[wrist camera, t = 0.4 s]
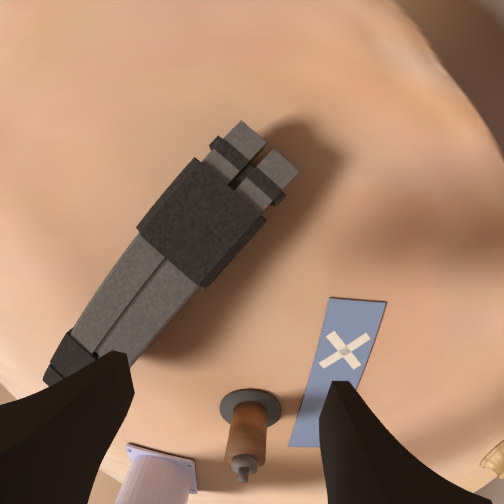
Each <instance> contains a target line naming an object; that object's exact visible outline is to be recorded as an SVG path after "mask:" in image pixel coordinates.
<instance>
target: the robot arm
mask: <svg viewBox="0 0 504 504" xmlns="http://www.w3.org/2000/svg"><path fill="white" fill-rule="evenodd" d="M134 394H135V392H134V388H133V383H132V378H131V373H130V368H129V363H128V357H127V354H126V353H122V352H118V351H114V350H112V351H110V352H108V353H106V354H105V355H103V356H101V357H100V358H98V359H97V360H95V361H93V362H92V363H90V364H88V365H87V366H85V367H84V368H82V369H80V370H79V371H77V372H75V373H74V374H72V375H70V376H69V377H67V378H65V379H63V380H61V381H59V382H57V383H55V384H54V385H52V386H50V387H48V388H46V389H44V390H42V391H39V392H37V393H35V394H32V395H30V396H27V397H25V398H22V399H19V400H16V401H12V402H9V403H6V404H2V405H0V504H87V503H88V500H89V496H90V493H91V490H92V487H93V483H94V481H95V477H96V475H97V472H98V469H99V467H100V464H101V462H102V460H103V458H104V456H105V454H106V452H107V450H108V449H109V447H110V445H111V443H112V441H113V439H114V437H115V436H116V434H117V432H118V430H119V428H120V426H121V425H122V423H123V421H124V419H125V417H126V415H127V413H128V410H129V408H130V405H131V402H132V399H133V397H134ZM319 443H320V449H321V456H322V462H323V468H324V475H325V481H326V488H327V496H328V504H492V502H491V500H489V499H487V498H484V497H481V496H479V495H476V494H474V493H471V492H469V491H467V490H465V489H463V488H461V487H459V486H457V485H455V484H453V483H451V482H450V481H448V480H446V479H445V478H443V477H441V476H440V475H438V474H437V473H435V472H434V471H433V470H431V469H430V468H428V467H427V466H426V465H424V464H423V463H422V462H420V461H419V460H418V459H417V458H416V457H415V456H413V455H412V454H411V453H410V452H409V451H408V450H407V449H405V448H404V447H403V446H402V445H401V444H400V443H399V442H398V441H397V440H396V439H395V437H394V436H393V435H392V434H391V433H390V432H389V431H388V430H387V429H386V428H385V427H384V425H383V424H382V423H381V422H380V420H379V419H378V418H377V417H376V416H375V414H374V413H373V412H372V411H371V409H370V408H369V407H368V406H367V404H366V403H365V402H364V400H363V399H362V398H361V396H360V395H359V394H358V392H357V391H356V390H355V388H354V387H353V386H352V384H351V383H350V382H349V381H332V382H331V385H330V388H329V391H328V394H327V397H326V400H325V402H324V405H323V408H322V411H321V414H320V416H319ZM125 448H126V451H127V453H128V456H129V458H130V461H131V465H130V467H129V470H128V472H127V474H126V477H125V479H124V481H123V484H122V486H121V489H120V491H119V493H118V496H117V498H116V501H115V503H114V504H186V503H187V500H188V496H189V493H192V494H197V482H196V473H195V463H194V461H192V460H190V459H185V458H180V457H176V456H171V455H167V454H163V453H159V452H155V451H152V450H148V449H145V448H141V447H138V446H134V445H131V444H126V445H125Z"/></svg>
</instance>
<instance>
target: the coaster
mask: <svg viewBox="0 0 504 504" xmlns="http://www.w3.org/2000/svg"><path fill="white" fill-rule="evenodd" d="M244 401H253V402H257V403H260V404H262V405H263V406H264V407H265V408H266V409H267V427H269V426H272V425H273V424H275V423H276V422H277V421H278V420H279V418H280V416H281V406H280V403H279V402H278V400H277V399H276V398H275V397H273V396H272V395H270V394H268V393H266V392H263V391H260V390H254V389H242V390H237V391H233V392H231V393H229V394H227V395H226V396H225V397H224V398H223V399H222V401H221V404H220V413H221V415H222V417H223V418H224V419H225V420H226V421H227V422H228V423H230V424H231V419H232V413H233V408H234V407H235V405H237V404H238V403H240V402H244Z"/></svg>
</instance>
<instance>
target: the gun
mask: <svg viewBox="0 0 504 504" xmlns="http://www.w3.org/2000/svg"><path fill="white" fill-rule="evenodd" d="M266 143H267V142H266V141H265V140H264V139H263V138H261V137H260V136H259V135H258V134H257V133H256V132H254V131H253V130H252V129H251V128H250V127H248V126H247V125H246V124H245V123H244V122H242V121H240V122H239V123H238V124H237V125H236V126H235V127H234V128H233V129H232V130H231V131H230V132H229V133H228V134H227V135H226V136H225V137H224V138H223V139H222V138H221V137H219V136H217V137H216V138H215V140H214V141H213V142H212V143H211V144H210V145H209V147H210V149H211V152H210V153H209V154H208V155H207V156H206V158H205V159H204V160H203V161H202V162H200V161H199V160H197V159H196V158H195V157H194V158H193V159H192V161H191V162H190V163H189V164H188V165H187V166H186V167H185V168H184V170H183V171H182V172H181V173H180V174H179V175H178V176H177V178H176V179H175V180H174V181H173V182H172V183H171V185H170V186H169V187H168V188H167V189H166V191H165V192H164V193H163V194H162V195H161V197H160V198H159V199H158V200H157V201H156V203H155V204H154V205H153V206H152V208H151V209H150V210H149V211H148V213H147V214H146V215H145V216H144V218H143V219H142V220H141V222H140V223H139V224H138V225H137V227H136V228H137V229H138V231H139V233H138V235H137V236H136V237H135V239H134V240H133V241H132V243H131V244H130V245H129V247H128V248H127V249H126V251H125V252H124V253H123V255H122V256H121V257H120V259H119V260H118V262H117V263H116V264H115V266H114V267H113V268H112V270H111V271H110V273H109V274H108V276H107V277H106V278H105V280H104V281H103V283H102V284H101V286H100V287H99V289H98V290H97V292H96V293H95V295H94V296H93V298H92V299H91V301H90V302H89V304H88V305H87V307H86V308H85V310H84V311H83V313H82V315H81V316H80V318H79V319H78V321H77V323H76V324H75V326H74V327H73V328H72V329H71V330H69V331H68V332H67V333H66V334H65V336H64V338H63V339H62V341H61V343H60V345H59V346H58V348H57V350H56V352H55V353H54V355H53V357H52V359H51V361H50V365H49V366H48V368H47V370H46V372H45V374H44V376H43V381H44V382H45V383H46V384H47V385H48V386H49V387H50V386H52V385H54V384H55V383H57V382H59V381H61V380H63V379H65V378H67V377H69V376H70V375H72V374H74V373H75V372H77V371H79V370H80V369H82V368H84V367H85V366H87V365H88V364H90V363H92V362H93V361H95V360H97V359H98V358H100V357H101V356H103V355H105V354H106V353H108V352H110V351H112V350H114V351H118V352H122V353H126V354H127V357H128V363H129V368H130V367H131V366H132V365H133V364H134V363H135V361H136V360H137V359H138V358H139V357H140V356H141V354H142V353H143V352H144V351H145V350H146V348H147V347H148V346H149V345H150V344H151V343H152V341H153V340H154V339H155V338H156V337H157V336H158V334H159V333H160V332H161V331H162V330H163V329H164V328H165V326H166V325H167V324H168V323H169V322H170V321H171V319H172V318H173V317H174V316H175V315H176V314H177V313H178V311H179V310H180V309H181V308H182V307H183V306H184V304H185V303H186V302H187V301H188V300H189V299H190V298H191V296H192V295H193V294H194V293H195V292H196V291H197V290H198V288H199V287H200V286H202V287H204V288H205V289H207V287H208V286H209V285H210V284H211V283H212V282H213V281H214V280H215V278H216V277H217V276H218V275H219V274H220V273H221V272H222V271H223V269H224V268H225V267H226V266H227V265H228V264H229V263H230V262H231V260H232V259H233V258H234V257H235V256H236V255H237V254H238V253H239V251H240V250H241V249H242V248H243V247H244V246H245V245H246V244H247V242H248V241H249V240H250V239H251V238H252V237H253V236H254V235H255V234H256V232H257V231H258V230H259V229H260V228H261V227H262V226H263V225H264V224H265V222H266V221H267V220H266V219H265V218H263V217H262V216H261V213H262V212H263V211H264V210H265V209H266V207H267V206H268V205H269V204H270V205H271V206H273V205H278V204H279V203H280V202H281V201H282V199H283V198H284V197H285V196H286V195H285V194H284V193H283V192H282V190H283V189H284V188H285V187H286V185H287V184H288V183H289V182H290V181H291V180H292V179H293V178H294V177H295V176H296V174H297V173H298V172H299V171H298V170H297V169H296V168H295V167H294V166H293V165H292V164H291V163H290V162H288V161H287V160H286V159H285V158H284V157H283V156H282V155H281V154H280V153H278V152H277V151H276V150H275V149H273V150H272V151H271V152H270V153H269V154H268V155H267V156H266V157H265V158H264V159H263V160H262V161H261V162H260V163H259V164H258V165H257V167H256V168H254V167H253V166H252V165H250V163H251V161H252V160H253V159H254V158H255V157H256V156H257V155H258V154H259V153H260V152H261V151H262V150H263V149H264V147H265V145H266Z"/></svg>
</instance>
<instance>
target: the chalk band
mask: <svg viewBox="0 0 504 504" xmlns="http://www.w3.org/2000/svg"><path fill="white" fill-rule="evenodd" d="M385 305H386V303H385V302H376V301H363V300H351V299H339V298H329V301H328V306H327V310H326V315H325V319H324V323H323V327H322V331H321V336H320V340H319V343H318V347H317V351H316V355H315V359H314V363H313V366H312V370H311V373H310V377H309V381H308V384H307V387H306V391H305V394H304V398H303V401H302V404H301V407H300V411H299V414H298V417H297V420H296V423H295V426H294V429H293V432H292V435H291V438H290V441H289V444H288V447H320V443H319V416H320V414H321V411H322V408H323V405H324V402H325V400H326V397H327V394H328V391H329V388H330V385H331V382H332V381H349V382H350V383H351V384H352V386H353V387H354V388H355V390H356V387H357V385H358V382H359V380H360V377H361V375H362V372H363V370H364V367H365V365H366V362H367V359H368V356H369V354H370V351H371V348H372V345H373V342H374V339H375V337H376V334H377V331H378V327H379V324H380V321H381V318H382V315H383V311H384V308H385Z"/></svg>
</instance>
